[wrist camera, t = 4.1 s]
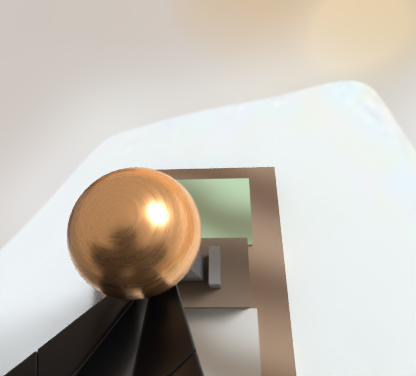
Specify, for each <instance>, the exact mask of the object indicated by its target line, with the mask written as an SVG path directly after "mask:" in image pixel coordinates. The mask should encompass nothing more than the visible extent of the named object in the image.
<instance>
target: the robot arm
mask: <svg viewBox="0 0 416 376" xmlns="http://www.w3.org/2000/svg"><path fill="white" fill-rule="evenodd" d="M4 376H205V375H204V372H203V369H202V367H201V363H200V360H199V356H198V354H197V350H196V347H195V344H194V340H193V337H192V333H191V330H190V327H189V323H188V320H187V317H186V313H185V310H184V306H183V303H182V300H181V296H180V293H179V290H178V286H177V284H176V285H175V286H173V287H172V288H170V289H169V290H167V291H165V292H163V293H161V294H159V295H156V296H153V297H151V298H146V299H141V300H124V299H119V298H114V297H111V296H108V295H107V296H105V297H104V298H103V299H102V300H100V301H99V302H98V303H96V304H95V305H94V306H93V307H91V308H90V309H89V310H88V311H86V312H85V313H84V314H82V315H81V316H80V317H79V318H77V319H76V320H75V321H74V322H72V323H71V324H70V325H68V326H67V327H66V328H65V329H63V330H62V331H61V332H60V333H58V334H57V335H56V336H54V337H53V338H52V339H51V340H49V341H48V342H47V343H46V344H44V345H43V346H42V347H40V348H39V349H38V353H37V352H34V353H33V354H31V355H30V356H29V357H28V358H26V359H25V360H24V361H22V362H21V363H20V364H19V365H17V366H16V367H15V368H13V369H12V370H11V371H9V372H8V373H7V374H5V375H4Z"/></svg>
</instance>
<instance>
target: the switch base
mask: <svg viewBox="0 0 416 376" xmlns="http://www.w3.org/2000/svg"><path fill="white" fill-rule="evenodd" d="M156 171H160V172H162V173H165V174H167V175H169V176H170V177H172V178H174V179H175V180H176V181H178V182H179V183H180V184H181V185H182V186H183V187H184V188H185V189H186V190H187V191H188V192H189V194H190V195H191V197H192V198H193V200H194V202H195V204H196V206H197V208H198V211H199V214H200V218H201V226H202V238H201V244H200V251H201V253H202V255H203V257H204V259H205V281H179V282H178V283H177V286H178V290H179V293H180V296H181V300H182V303H183V306H184V310H185V313H186V317H187V320H188V323H189V327H190V330H191V333H192V337H193V340H194V344H195V347H196V350H197V354H198V356H199V360H200V363H201V367H202V369H203V372H204V375H205V376H296V369H295V359H294V350H293V340H292V331H291V321H290V312H289V302H288V293H287V283H286V274H285V264H284V255H283V245H282V236H281V226H280V217H279V207H278V198H277V188H276V179H275V169H274V167H256V168H214V169H171V170H156ZM105 296H107V295H105V294H103V293H102V294H101V300H102V299H103V298H104V297H105Z"/></svg>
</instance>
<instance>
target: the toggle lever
mask: <svg viewBox="0 0 416 376" xmlns="http://www.w3.org/2000/svg"><path fill="white" fill-rule="evenodd" d="M201 238H202V226H201V218H200V214H199V211H198V208H197V206H196V204H195V202H194V200H193V198H192V197H191V195H190V194H189V192H188V191H187V190H186V189H185V188H184V187H183V186H182V185H181V184H180V183H179V182H178V181H176V180H175V179H174V178H172V177H170V176H169V175H167V174H165V173H162V172H160V171H156V170H153V169H148V168H138V167H135V168H125V169H120V170H117V171H114V172H111V173H108V174H106V175H104V176H102V177H101V178H99V179H97V180H96V181H95V182H94V183H92V184H91V185H90V186H89V187H88V188H87V189H86V190H85V191H84V192H83V193H82V195H81V196H80V197H79V199H78V200H77V202H76V203H75V205H74V207H73V209H72V212H71V215H70V218H69V222H68V229H67V244H68V250H69V254H70V257H71V260H72V262H73V264H74V266H75V268H76V270H77V271H78V272H79V274H80V275H81V277H82V278H83V279H84V280H85V281H86V282H87V283H88V284H89V285H91V286H92V287H93V288H95V289H96V290H98V291H100V292H101V293H103V294H105V295H108V296H111V297H114V298H119V299H124V300H141V299H146V298H151V297H153V296H156V295H159V294H161V293H163V292H165V291H167V290H169V289H170V288H172V287H173V286H175V285H176V284H177V283H178V282H179V281H205V259H204V257H203V255H202V253H201V251H200V244H201Z"/></svg>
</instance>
